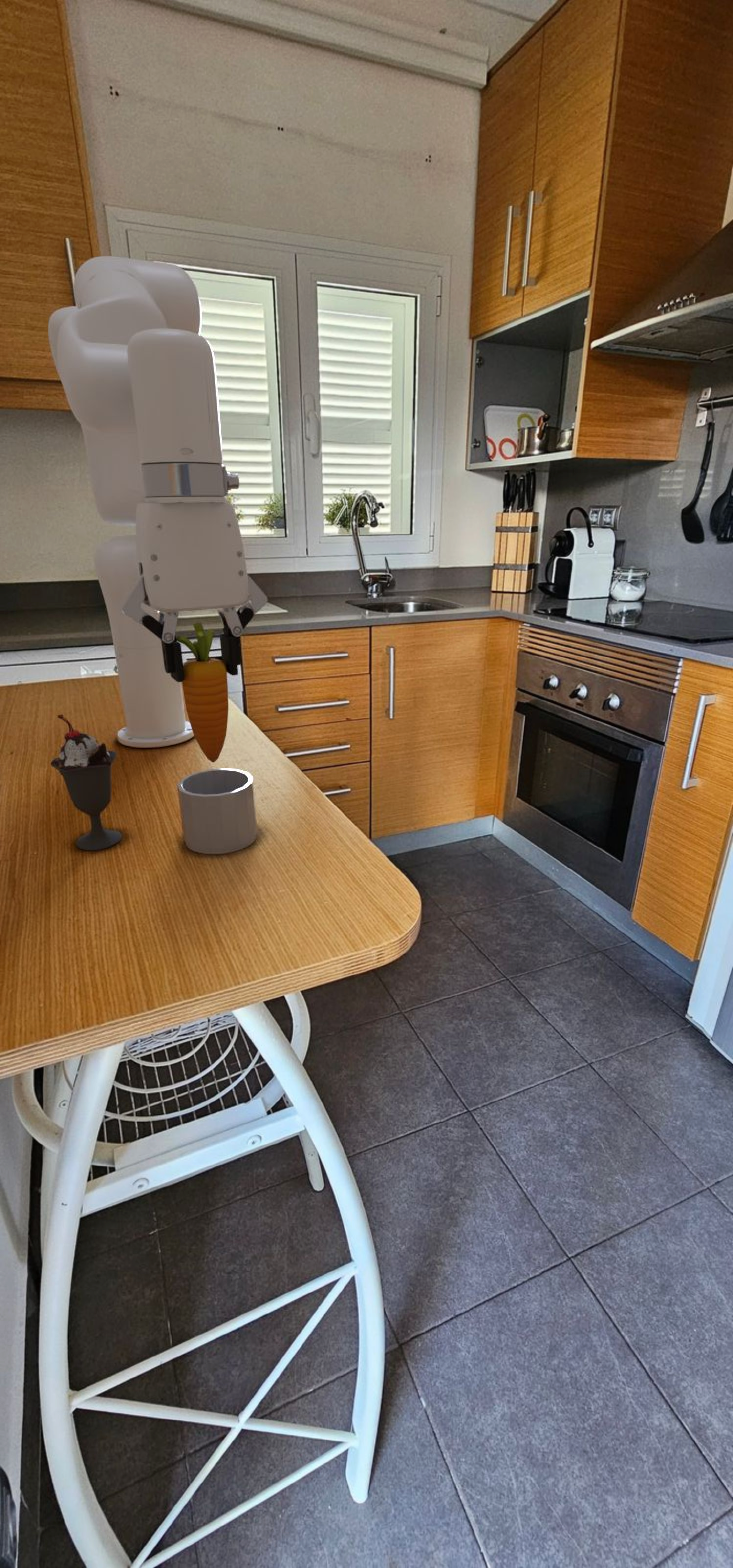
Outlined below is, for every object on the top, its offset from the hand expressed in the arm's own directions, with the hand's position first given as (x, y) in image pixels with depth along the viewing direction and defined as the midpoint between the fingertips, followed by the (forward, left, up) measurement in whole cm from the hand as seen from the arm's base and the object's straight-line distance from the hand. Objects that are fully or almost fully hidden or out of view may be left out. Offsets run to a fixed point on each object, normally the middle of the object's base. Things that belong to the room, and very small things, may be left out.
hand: (204, 674), depth 71 cm
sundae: (-6, -13, -19) cm, 24 cm away
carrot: (0, 0, -10) cm, 10 cm away
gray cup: (0, 0, -19) cm, 19 cm away
